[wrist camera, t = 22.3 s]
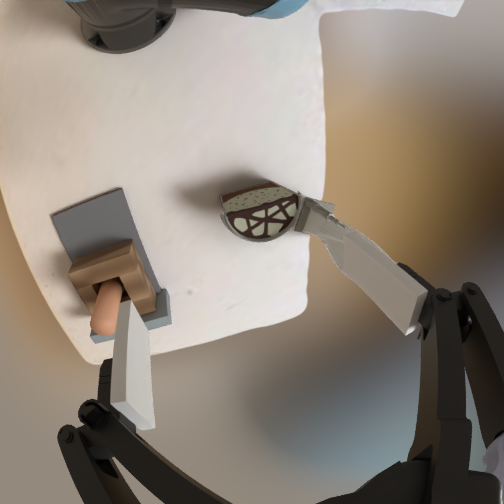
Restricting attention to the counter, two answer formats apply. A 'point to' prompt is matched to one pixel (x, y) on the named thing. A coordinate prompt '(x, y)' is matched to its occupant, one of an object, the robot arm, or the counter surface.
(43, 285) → the counter surface
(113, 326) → the dowel
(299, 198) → the food container
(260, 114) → the counter surface
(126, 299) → the block
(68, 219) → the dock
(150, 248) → the counter surface
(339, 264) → the skyscraper
